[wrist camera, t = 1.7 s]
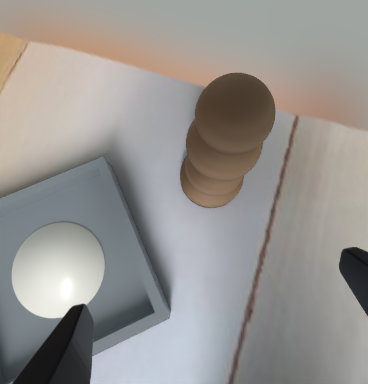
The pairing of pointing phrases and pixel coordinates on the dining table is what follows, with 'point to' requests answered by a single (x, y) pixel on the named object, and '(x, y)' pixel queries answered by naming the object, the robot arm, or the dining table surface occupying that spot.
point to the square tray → (72, 264)
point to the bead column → (225, 138)
